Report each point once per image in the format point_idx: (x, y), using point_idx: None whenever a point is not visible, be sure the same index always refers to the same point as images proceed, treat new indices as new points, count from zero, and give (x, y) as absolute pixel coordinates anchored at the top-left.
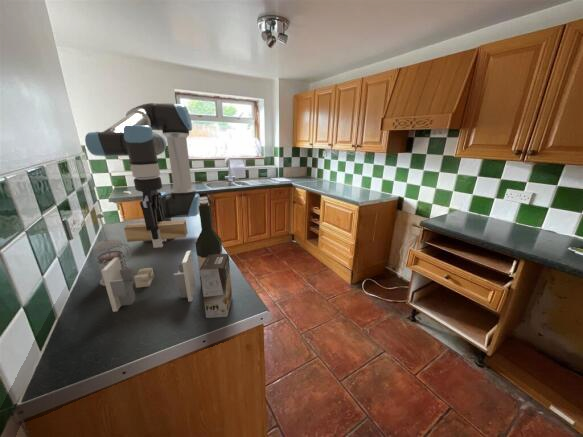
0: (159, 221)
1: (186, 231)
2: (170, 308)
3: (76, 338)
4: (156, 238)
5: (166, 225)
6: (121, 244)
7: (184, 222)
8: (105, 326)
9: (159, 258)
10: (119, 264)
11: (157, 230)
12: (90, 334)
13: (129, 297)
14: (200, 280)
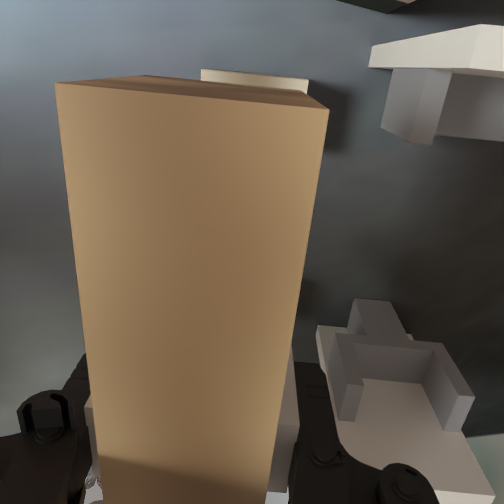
0: (71, 468)
1: (192, 82)
2: (499, 158)
3: (494, 394)
4: (321, 377)
5: (284, 379)
6: (88, 485)
7: (214, 97)
8: (480, 345)
9: (13, 267)
10: (350, 446)
11: (295, 426)
12: (497, 370)
13: (398, 322)
14: (401, 6)
